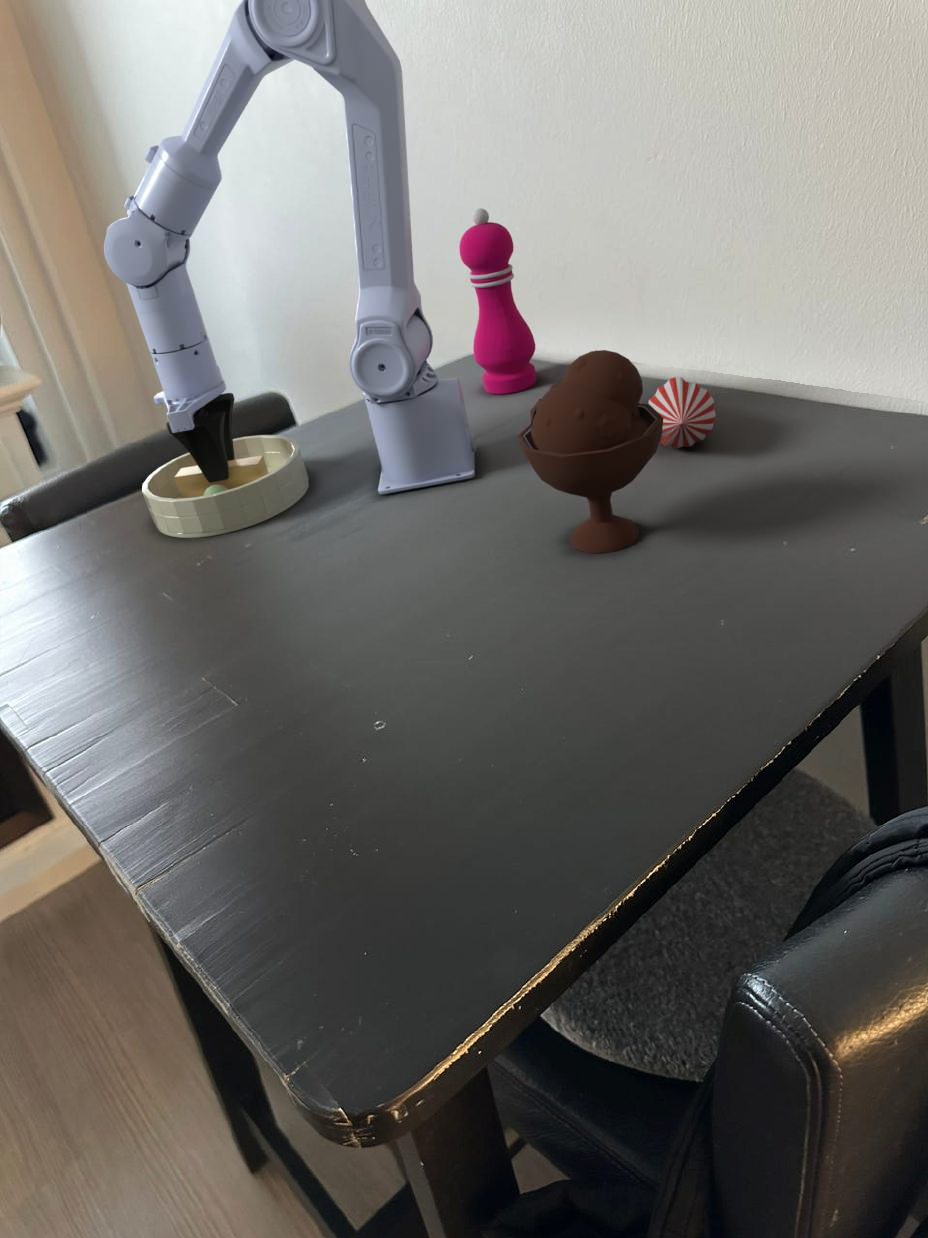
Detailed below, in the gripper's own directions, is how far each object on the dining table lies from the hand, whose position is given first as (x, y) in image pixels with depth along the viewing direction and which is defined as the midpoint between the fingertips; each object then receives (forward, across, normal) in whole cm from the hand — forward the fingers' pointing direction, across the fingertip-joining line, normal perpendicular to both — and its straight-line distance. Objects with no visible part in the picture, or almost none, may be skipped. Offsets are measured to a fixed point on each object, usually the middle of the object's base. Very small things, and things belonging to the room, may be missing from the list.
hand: (222, 474), depth 106 cm
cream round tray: (+3, +1, 0) cm, 3 cm away
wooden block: (+2, 0, 0) cm, 2 cm away
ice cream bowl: (+3, +24, +36) cm, 44 cm away
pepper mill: (+3, -20, +30) cm, 37 cm away
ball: (+1, +4, 0) cm, 4 cm away
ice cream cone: (+3, +5, +46) cm, 47 cm away
